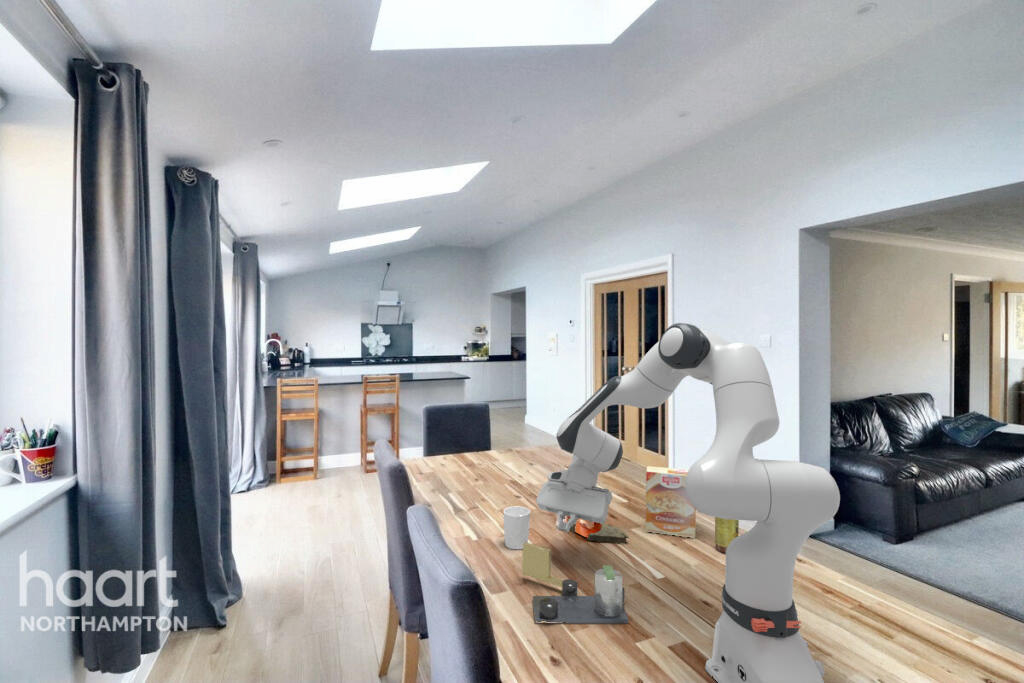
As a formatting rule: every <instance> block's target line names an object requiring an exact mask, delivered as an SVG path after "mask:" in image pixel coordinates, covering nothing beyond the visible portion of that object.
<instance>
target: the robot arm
mask: <svg viewBox="0 0 1024 683" xmlns="http://www.w3.org/2000/svg"><path fill="white" fill-rule="evenodd" d="M689 376H690V377H691V378H693V379H696V380H698V381H701V382H704V383H708V384H711V385H712V391H713V398H714V400H713V401H714V405H715V406H714V407H715V424H716V426H715V428H716V429H715V435H714V439H713V441H712V444H711V445H710V447H709V449H708V450H707V451H706V452H705V454H703V455H702V456H701V457H700V458H699V459H698V460H696V461H695V462H694V463H692V465H690V467H689V469H688V470H689V471H688V473H687V476H686V482H685V487H686V492H687V496H688V498H689V500H690V502H691V504H692V505H693V506H694V508H695V509H696V512H698V513H701V514H704V515H706V516H707V515H708V516H710V517H711V516H712V517H714V518H715V517H718V518H723V519H732V520H739V521H751V522H752V521H753V522H756V523H755V524H754V525H753V526H752V528H751V529H749V530H748V531H747V532H745V533H742V534H741V535H739V536H738V537H736V538H734V539H733V540H732V541H731V542H730V544H729V545H728V547H727V550H726V553H725V565H724V567H725V574H724V575H725V576H724V578H725V579H724V584H723V585H722V592H721V606H722V609H723V610H722V613H721V614H720V615H719V616H720V617H719V618H718V619H717V621H716V623H715V626H714V636H713V643H712V655H711V656H712V657H710V658H709V659H707V660H706V662H705V667H704V669H705V671H706V672H707V673H708V674H709V675H710V676H711V677H712V676H713V678H714V679H715V680H716V681H717V682H718V683H825V682H824V679H823V677H825V672H826V671H825V667H824V664H823V662H822V661H820V660H814V659H813V657H812V655H811V652H810V650H809V644H808V641H807V640H805V639H804V638H803V636H802V635H801V632H800V630H799V629H801V628H802V626H800V624H802V621H800V620H799V619H798V618H799V617H798V616H799V615H798V611H797V609H796V604H795V601H794V599H793V596H794V595H793V592H794V591H793V590H794V589H793V588H794V577H795V575H794V574H795V569H796V568H795V565H796V561H797V558H798V556H799V555H798V554H799V553H800V550H801V548H802V547H803V545H804V544H805V542H806V541H807V540H808V538H809V536H810V535H811V534H812V533H813V532H815V530H816V529H818V528H819V527H820V526H822V525H824V524H825V523H827V522H829V521H831V520H832V519H833V518H834V517H835V515H836V514H837V513H838V510H839V507H840V503H841V502H840V501H841V494H840V493H841V492H840V489H839V486H838V485H837V484H838V483H837V482H836V480H835V478H834V477H833V476H832V474H830V473H829V471H827V469H825V468H824V467H821V466H818V465H813V464H810V463H806V462H802V461H801V462H800V461H796V460H777V459H776V460H775V459H758V458H755V456H754V452H753V451H754V449H753V448H755V447H756V446H758V445H761V444H763V443H765V442H767V441H769V440H770V439H772V438H773V437H774V436H775V435H776V434H777V432H778V431H779V428H780V418H779V413H778V409H777V408H778V407H777V403H776V399H775V393H774V389H773V385H772V380H771V376H770V374H769V371H768V368H767V366H766V363H765V361H764V358H763V357H762V355H761V352H760V351H759V349H758V348H757V347H755V346H753V345H752V344H750V343H747V342H741V341H740V342H739V341H738V342H732V343H730V342H729V341H727V340H726V339H725V338H722V337H720V336H719V335H717V334H715V333H714V332H712V331H709V330H706V329H704V328H703V329H702V328H700V327H698V326H696V325H694V324H691V323H685V322H677V323H674V324H671V325H670V326H668V327H667V328H666V329H665V330H664V332H663V333H662V334H661V337H660V339H659V340H658V341H657V342H656V343H655V344H654V345H653V346H652V347H651V348H649V350H648V352H646V353H645V355H644V356H643V357H642V358H641V360H640V361H639V362H638V363H637V364H636V366H635V367H634V369H632V370H631V371H629V372H628V373H626V374H623V375H621V376H619V375H618V376H617V375H616V376H613V377H611V378H610V379H608V380H607V381H606V382H605V383H604V384H602V386H601V387H599V388H598V389H597V390H596V391H595V392H594V393H593V394H592V395H591V396H590V397H589V398H588V399H587V400H586V401H585V402H584V403H583V404H582V405H581V406H580V407H579V408H578V409H577V410H576V411H575V412H573V413H572V414H571V415H569V416H568V417H567V418H566V419H565V420H564V421H563V422H562V423H561V424H560V426H559V428H558V430H557V433H556V434H555V435H556V440H557V443H558V445H559V448H560V450H562V451H563V452H566V453H568V454H571V455H572V459H571V460H572V461H571V463H570V464H569V466H568V468H567V469H564V470H559V471H552V472H549V473H548V475H547V479H548V480H546V482H544V483H543V484H542V485H541V488H540V490H539V492H538V495H537V497H536V500H535V501H536V505H537V506H538V508H539V509H540V510H542V511H545V512H549V513H554V514H557V520H558V523H557V527H556V528H557V529H558V531H562V532H564V533H565V532H566V533H570V531H571V530H570V528H571V527H572V526H573V525H574V524H575V523H576V522H577V520H578V518H579V519H583V520H587V521H591V522H596V523H600V524H603V523H605V522H607V518H608V514H609V508H610V507H609V505H610V504H611V502H612V500H613V493H612V492H611V491H610V490H609V489H608V488H601V487H599V486H597V482H598V479H599V474H600V473H606V472H610V471H613V470H616V469H617V468H618V467H619V465H620V462H621V460H622V457H623V454H624V450H623V448H624V447H623V445H622V444H623V443H622V442H621V440H619V439H618V438H617V437H615V436H614V435H612V434H610V433H608V432H606V431H604V430H602V429H600V428H599V427H597V426H595V425H593V424H591V422H592V421H593V420H594V419H595V418H596V417H597V416H599V415H600V413H601V412H603V411H604V410H605V409H606V408H608V407H609V406H616V405H617V406H618V405H621V406H627V407H628V406H630V407H633V408H638V409H653V408H657V407H660V406H661V405H663V404H664V403H665V402H666V401H667V400H668V399H669V398H670V397H671V396H672V394H673V393H674V392H675V390H676V389H677V387H678V386H680V383H681V382H682V381H683V380H684V379H685V378H686V377H689ZM565 516H570V518H571V519H570V520H569V521H568V522H567V523H564V522H563V519H565ZM713 678H712V679H713ZM714 679H713V680H714ZM715 680H714V681H715ZM716 681H715V682H716ZM717 682H716V683H717Z"/></svg>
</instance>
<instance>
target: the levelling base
mask: <svg viewBox="0 0 1024 683" xmlns="http://www.w3.org/2000/svg"><path fill="white" fill-rule="evenodd" d="M625 592H626V591H625V587H624V586H623V574H622V573H621V572H620V571H618V570H616V569H613V567H612V566H611V565H608V564H607V565H602V568H600V569H598V570H596V571H595V572H594V595H577V596H564V595H532V606H534V607H533V613H534V614H533V615H535V616H534V622H535V621H537V622H541V621H546V622H568V623H567V624H629V617H628V615H627V612H626V610H625V608H624V605H623V604H624V603H625V596H626V594H625Z"/></svg>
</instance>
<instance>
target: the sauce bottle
mask: <svg viewBox="0 0 1024 683" xmlns="http://www.w3.org/2000/svg"><path fill="white" fill-rule="evenodd" d="M714 521H715V522H714V526H715V527H714V534H715V536H714V538H715V539H714V540H715V541H714V543H715V548H716V550H717V551H718V552H721V553H723V554H726V550H727V547H728V545H729V544H730V542H731V541H732V540H733V539H734V538H736V537H738V536H740V535H739V534H740V531H739V530H740V529H739V525H740V520H732V519H723V518H718V517H714Z"/></svg>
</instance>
